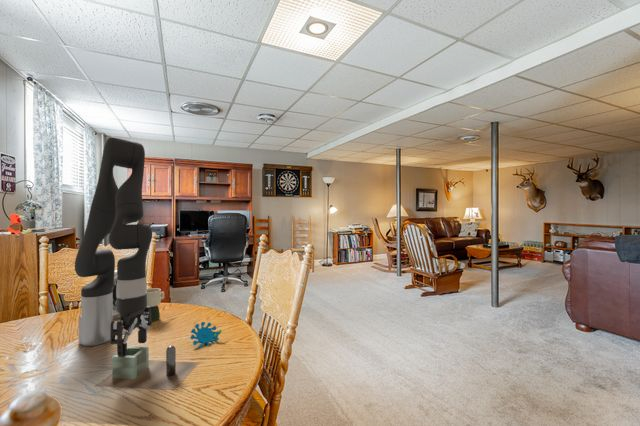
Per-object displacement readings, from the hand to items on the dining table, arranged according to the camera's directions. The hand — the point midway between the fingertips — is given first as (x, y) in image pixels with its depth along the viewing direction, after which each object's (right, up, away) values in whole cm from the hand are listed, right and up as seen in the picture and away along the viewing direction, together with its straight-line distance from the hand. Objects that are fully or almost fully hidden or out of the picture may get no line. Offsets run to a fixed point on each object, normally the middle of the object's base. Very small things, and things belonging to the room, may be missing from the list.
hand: (132, 349), depth 88 cm
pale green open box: (-1, -7, 0) cm, 7 cm away
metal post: (+11, -7, -1) cm, 13 cm away
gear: (+14, -8, +20) cm, 26 cm away
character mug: (-19, -7, +43) cm, 48 cm away
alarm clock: (-37, -7, +48) cm, 61 cm away
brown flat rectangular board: (+5, -8, 0) cm, 10 cm away
